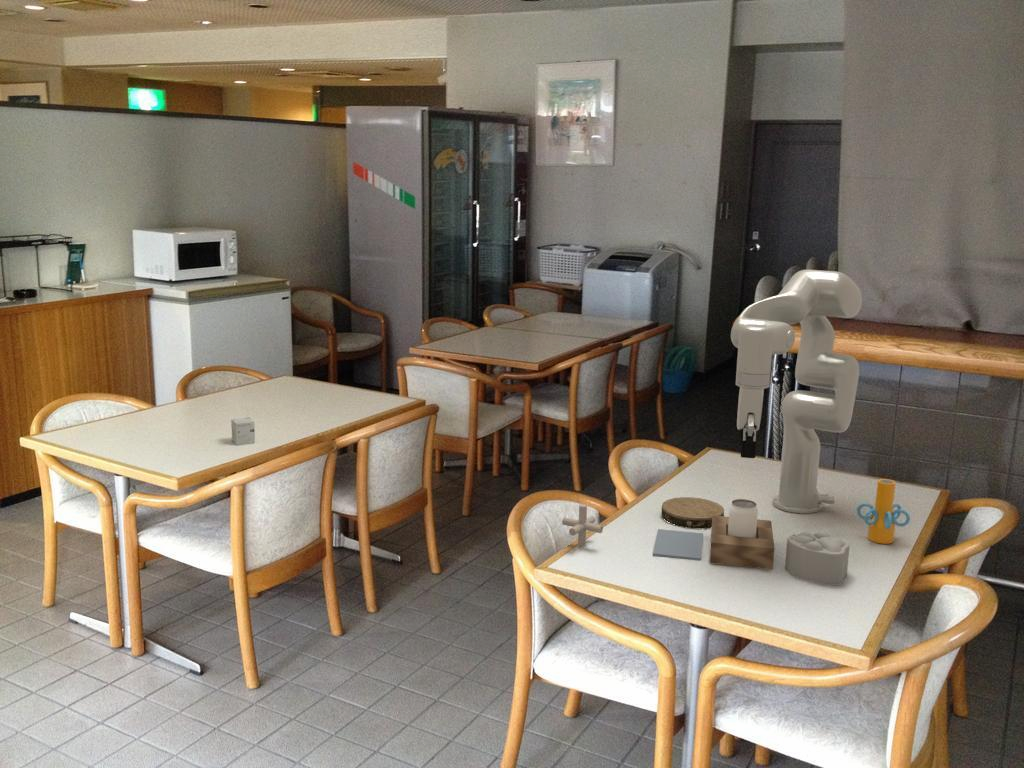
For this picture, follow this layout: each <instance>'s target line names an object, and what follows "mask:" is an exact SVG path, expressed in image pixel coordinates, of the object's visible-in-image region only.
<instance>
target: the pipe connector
mask: <svg viewBox="0 0 1024 768" xmlns="http://www.w3.org/2000/svg"><path fill="white" fill-rule="evenodd" d="M587 514H588V506H587V504H584V503H581V504H579V505H578V519H573V518H570V517H565V516H564V517H563V518H562V523H561V524H562V525H563V526H568V527H570V529H569V530H568V533H569V535H570V536H573V537H574V536H575V535H578V537H577V546H578V547H582V548H583V547H586V544H587V531H588V532H593V533H597V534H602V533H603V531H604V526H603V525H601V524H600V525H599V524H595V522H596V517H595V516H594V515H589V516H588V517H587Z"/></svg>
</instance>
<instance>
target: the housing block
mask: <svg viewBox="0 0 1024 768" xmlns="http://www.w3.org/2000/svg"><path fill="white" fill-rule="evenodd" d="M728 523H729V516H725V515H724V516H714V515H712V528H711V530H710V531H711V532H710V547H709V548H710V550H709V564H715V565H717V564H718V565H724V566H725V565H727V566H737V567H747V568H757V569H766V570H774V558H775V542H774V541H775V540H774V534H773V526H772V525H773V523H772V520H768V519H758V518H757V530H756V538H748V537H737V536H728Z"/></svg>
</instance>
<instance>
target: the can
mask: <svg viewBox="0 0 1024 768" xmlns="http://www.w3.org/2000/svg"><path fill="white" fill-rule="evenodd" d="M758 511H759V510H758V508H757V503H756V502H755V501H754V500H751V499H746V498H745V499H742V498H737V499H734V500H732V501H731V505H730V506H729V511H728V512H729V513H728V517H729V523H728V536H737V537H748V538H756V530H757V519H758V515H759V514H758Z"/></svg>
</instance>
